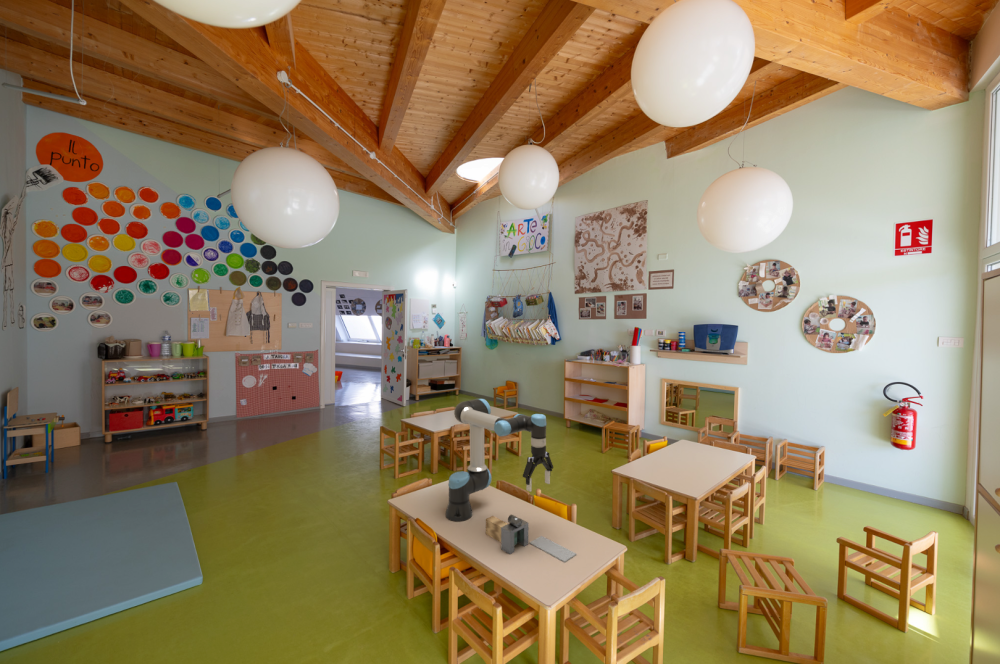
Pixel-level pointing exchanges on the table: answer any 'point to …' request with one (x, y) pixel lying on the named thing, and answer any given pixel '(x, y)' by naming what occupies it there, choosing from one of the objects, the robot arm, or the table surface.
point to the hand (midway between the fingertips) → (538, 486)
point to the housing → (508, 534)
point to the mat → (553, 549)
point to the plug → (496, 528)
